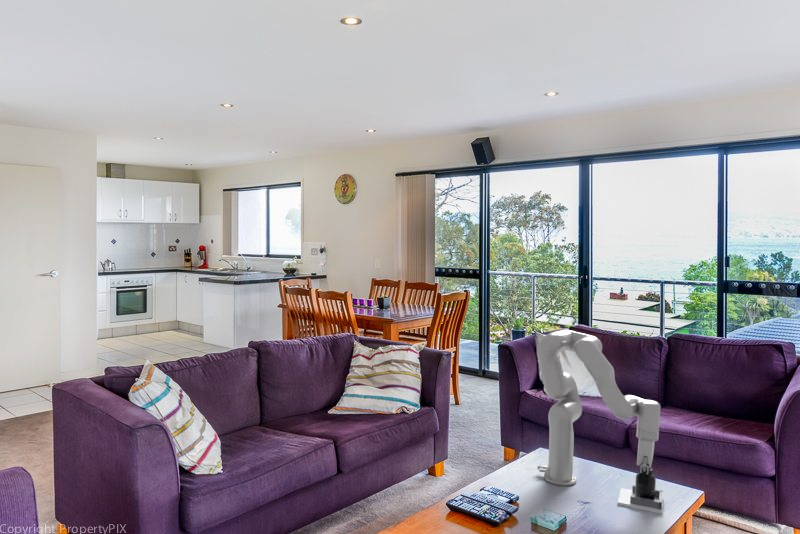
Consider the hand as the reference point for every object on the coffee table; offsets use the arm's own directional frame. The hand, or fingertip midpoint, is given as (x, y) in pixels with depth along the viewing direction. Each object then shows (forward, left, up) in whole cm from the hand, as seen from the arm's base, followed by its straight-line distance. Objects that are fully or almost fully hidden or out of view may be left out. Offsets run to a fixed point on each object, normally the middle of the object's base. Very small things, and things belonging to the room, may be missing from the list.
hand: (644, 479), depth 215 cm
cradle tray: (-1, 0, -9) cm, 9 cm away
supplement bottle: (+1, 0, -8) cm, 8 cm away
